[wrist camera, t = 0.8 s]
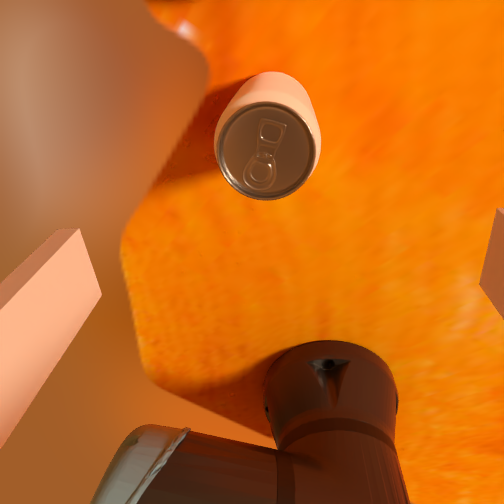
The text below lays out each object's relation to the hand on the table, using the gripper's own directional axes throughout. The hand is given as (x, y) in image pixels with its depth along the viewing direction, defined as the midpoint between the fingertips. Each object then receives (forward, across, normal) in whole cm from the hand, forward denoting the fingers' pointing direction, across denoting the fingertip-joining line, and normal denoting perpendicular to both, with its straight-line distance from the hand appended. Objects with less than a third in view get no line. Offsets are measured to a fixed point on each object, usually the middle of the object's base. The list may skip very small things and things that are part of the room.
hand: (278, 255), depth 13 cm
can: (+23, +1, 0) cm, 23 cm away
